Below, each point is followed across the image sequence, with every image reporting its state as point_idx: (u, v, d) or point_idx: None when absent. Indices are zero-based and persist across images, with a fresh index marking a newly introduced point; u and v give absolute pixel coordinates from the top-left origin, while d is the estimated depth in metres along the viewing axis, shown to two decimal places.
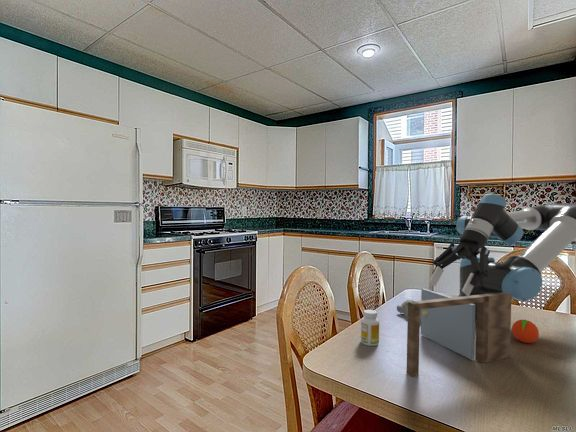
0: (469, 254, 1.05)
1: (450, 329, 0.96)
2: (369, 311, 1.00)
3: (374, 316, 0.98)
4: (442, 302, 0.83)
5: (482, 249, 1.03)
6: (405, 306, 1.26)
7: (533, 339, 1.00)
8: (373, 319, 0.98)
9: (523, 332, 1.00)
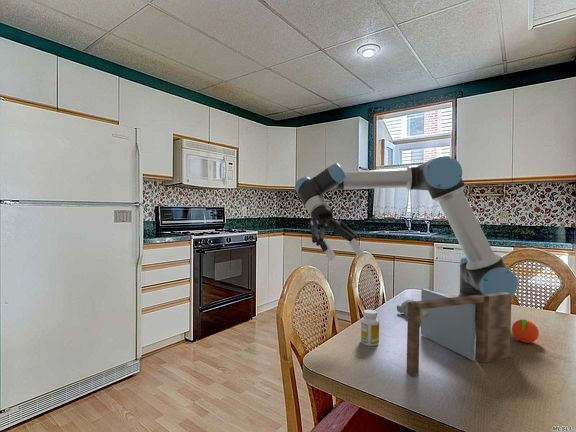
0: None
1: (450, 329, 0.96)
2: (369, 311, 1.00)
3: (374, 316, 0.98)
4: (442, 302, 0.83)
5: None
6: (405, 306, 1.26)
7: (533, 339, 1.00)
8: (373, 319, 0.98)
9: (523, 332, 1.00)
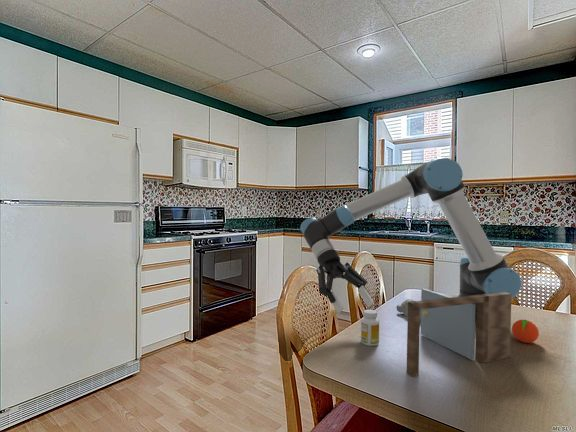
0: None
1: (450, 329, 0.96)
2: (369, 311, 1.00)
3: (374, 316, 0.98)
4: (442, 302, 0.83)
5: None
6: (405, 306, 1.26)
7: (533, 339, 1.00)
8: (372, 319, 0.98)
9: (523, 332, 1.00)
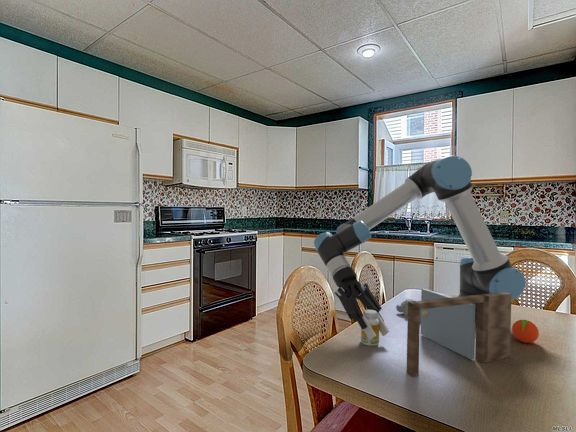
0: None
1: (450, 329, 0.96)
2: (369, 311, 1.00)
3: (374, 316, 0.98)
4: (442, 302, 0.83)
5: None
6: (405, 305, 1.26)
7: (533, 339, 1.00)
8: (373, 319, 0.99)
9: (523, 332, 1.00)
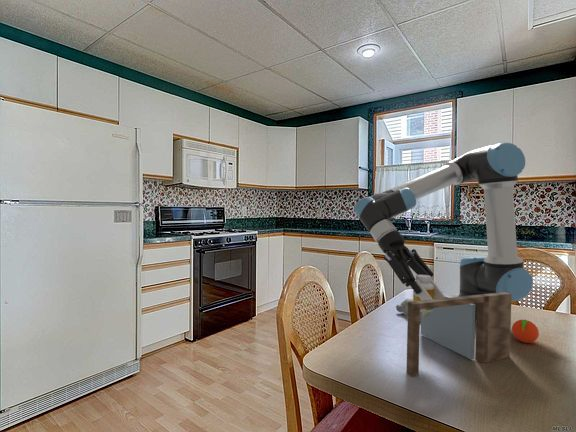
0: None
1: (450, 329, 0.96)
2: (422, 275, 0.93)
3: (429, 280, 0.91)
4: (442, 302, 0.83)
5: None
6: (405, 305, 1.27)
7: (533, 339, 1.00)
8: (427, 283, 0.91)
9: (523, 332, 1.00)
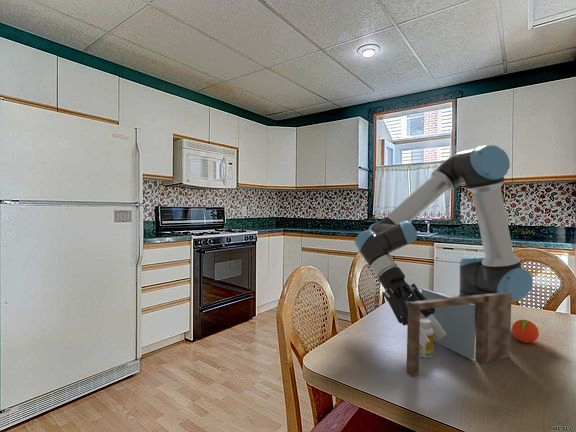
0: None
1: (450, 329, 0.96)
2: (422, 320, 0.93)
3: (429, 325, 0.91)
4: (442, 302, 0.83)
5: None
6: None
7: (533, 339, 1.00)
8: (427, 329, 0.91)
9: (523, 332, 1.00)
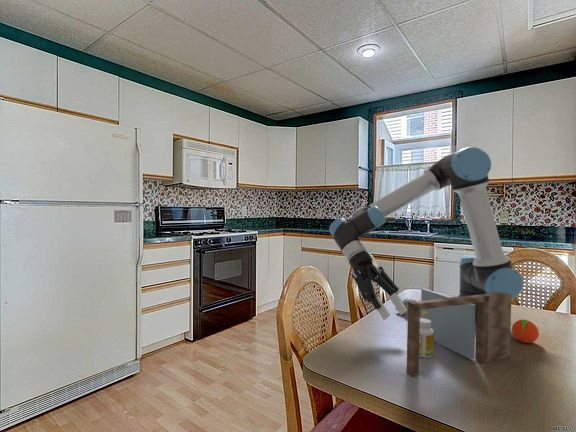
0: None
1: (450, 329, 0.96)
2: (422, 320, 0.93)
3: (429, 325, 0.91)
4: (442, 302, 0.83)
5: None
6: (404, 305, 1.27)
7: (533, 339, 1.00)
8: (427, 329, 0.91)
9: (523, 332, 1.00)
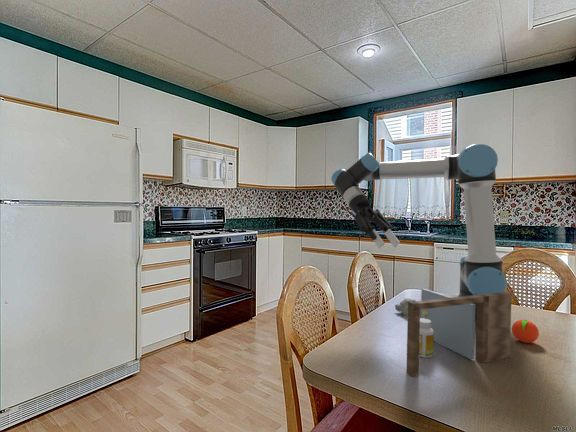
0: None
1: (450, 329, 0.96)
2: (422, 320, 0.93)
3: (429, 325, 0.91)
4: (442, 302, 0.83)
5: None
6: (404, 305, 1.27)
7: (533, 339, 1.00)
8: (427, 329, 0.91)
9: (523, 332, 1.00)
